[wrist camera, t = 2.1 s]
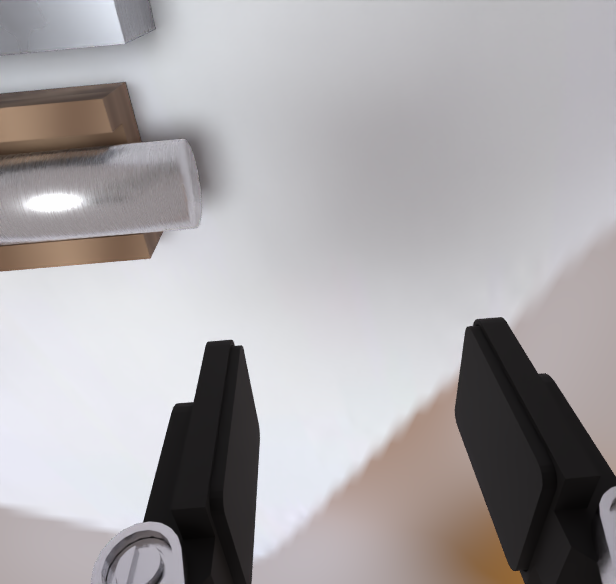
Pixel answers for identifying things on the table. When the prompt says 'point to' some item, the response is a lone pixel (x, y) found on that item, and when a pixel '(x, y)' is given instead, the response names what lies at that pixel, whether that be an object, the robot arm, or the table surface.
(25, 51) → the v block
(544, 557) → the robot arm
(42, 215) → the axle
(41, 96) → the brown piece
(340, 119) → the table surface
